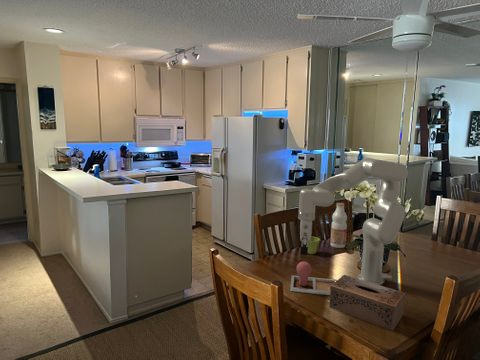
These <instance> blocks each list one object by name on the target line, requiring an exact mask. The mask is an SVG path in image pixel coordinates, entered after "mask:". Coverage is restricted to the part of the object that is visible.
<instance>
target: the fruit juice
mask: <svg viewBox="0 0 480 360" xmlns="http://www.w3.org/2000/svg"><path fill="white" fill-rule="evenodd" d="M331 218H332V221H331V229H330V246H331V247H332V248H337V249H345V247H346V244H347V243H346V241H347V229H348V228H347V227H348V224H347V220H348V216H347V214H346V212H345V203H344V202H336V209H335V211H334V212H333V214H332V216H331Z"/></svg>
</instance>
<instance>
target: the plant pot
mask: <svg viewBox="0 0 480 360" xmlns="http://www.w3.org/2000/svg"><path fill="white" fill-rule="evenodd" d="M320 241H321V239H320V237H316V236H312V235H311V242H310V241H308V254H310V255H314V254H316V253H317V251H318V248H319V247H318V246H319V242H320Z"/></svg>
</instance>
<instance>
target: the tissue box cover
mask: <svg viewBox="0 0 480 360" xmlns="http://www.w3.org/2000/svg"><path fill="white" fill-rule="evenodd" d="M336 280H337V281H336V282H335V283H333V284H332V285H331V288H330V295H329V304H328V305H329V308H330V309H333V310H335V309H336V311H338V310H339V312H341V313H343V312H344V314H346V313H347V315H349V314H350V316H352V317H354V316H355V317H354V318H357V319H360V320H363V321H365V322H369V323H371V324H374V325H376V326H379V327H382V328H384V329H388V330H390V331H391V332H393V331H394V330H395V328H396V327H397V325H398V323H399V322H400V320H401V318H402V317H403V315H404V309H405V300H406V299H405V298H406V292H404V291H400V290H396V289H393V288H390V287H386V286H384V285H377V284H374V283H370V282H367V281H364V280H360V279H358V278H356V277H353V276H350V275H347V274H343V275H342V276H341V277H340V278H338V279H336Z"/></svg>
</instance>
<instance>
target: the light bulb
mask: <svg viewBox="0 0 480 360" xmlns="http://www.w3.org/2000/svg"><path fill="white" fill-rule="evenodd" d="M312 271H313V270H312V266H311V264H310V263H308V262H307V261H299V263H297V265H296V272H297V276H299V279H300V280H298V282H299V283H298V285H300V286H302V287H306V286H307V285H308V281H307V280H308V277H310V275H311V273H312Z"/></svg>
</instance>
